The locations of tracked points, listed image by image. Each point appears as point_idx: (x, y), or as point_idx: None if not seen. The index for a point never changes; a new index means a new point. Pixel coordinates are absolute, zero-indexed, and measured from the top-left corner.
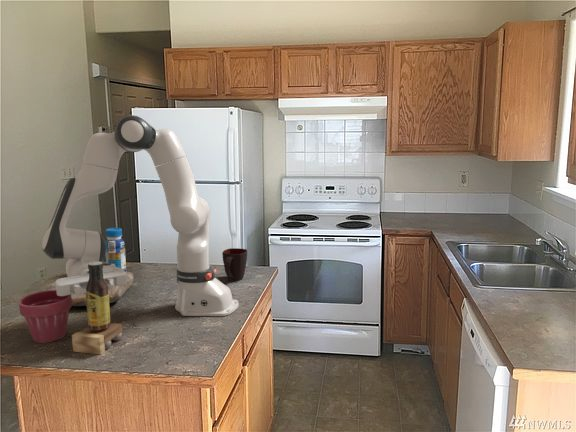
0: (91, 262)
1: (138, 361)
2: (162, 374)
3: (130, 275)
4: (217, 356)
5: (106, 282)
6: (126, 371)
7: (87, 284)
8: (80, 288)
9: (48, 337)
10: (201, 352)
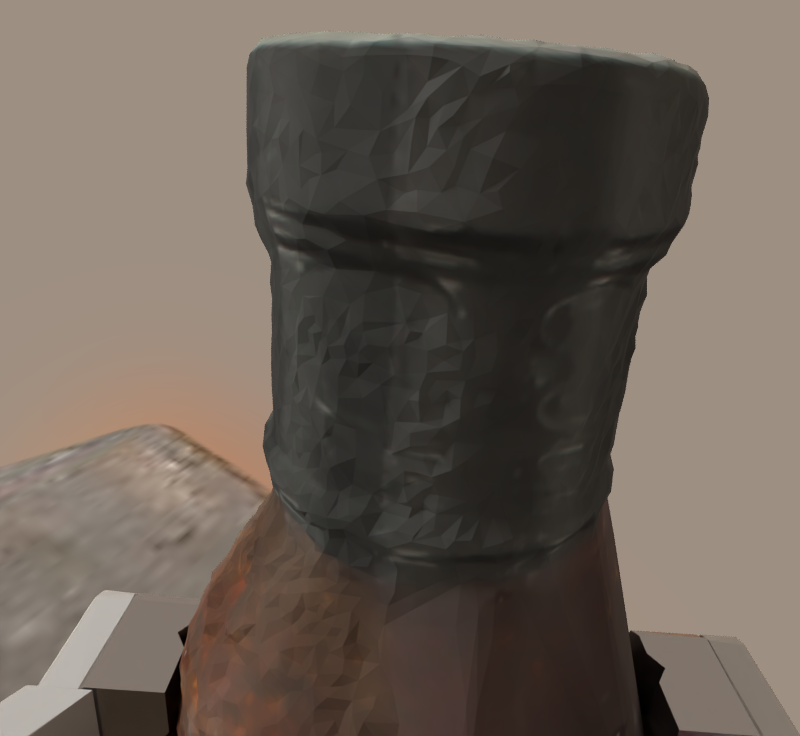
0: (602, 52)
1: None
2: (263, 487)
3: None
4: (8, 478)
5: (222, 562)
6: None
7: (623, 609)
8: (760, 671)
9: None
10: (4, 528)
